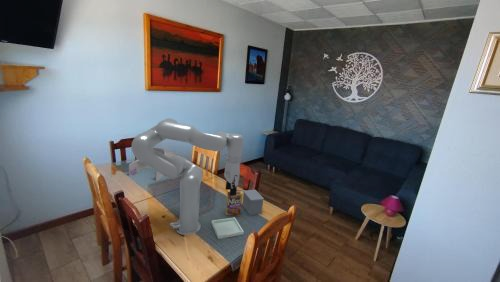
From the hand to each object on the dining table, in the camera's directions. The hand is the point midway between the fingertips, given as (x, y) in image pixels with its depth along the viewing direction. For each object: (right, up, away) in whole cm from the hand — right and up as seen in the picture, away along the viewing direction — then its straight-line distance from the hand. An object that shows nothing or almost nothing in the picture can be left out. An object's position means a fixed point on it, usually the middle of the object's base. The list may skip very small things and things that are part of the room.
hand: (230, 191), depth 117 cm
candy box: (0, -18, +20) cm, 27 cm away
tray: (-2, -21, +5) cm, 22 cm away
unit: (+11, -17, +27) cm, 34 cm away
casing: (-67, 0, +66) cm, 94 cm away
